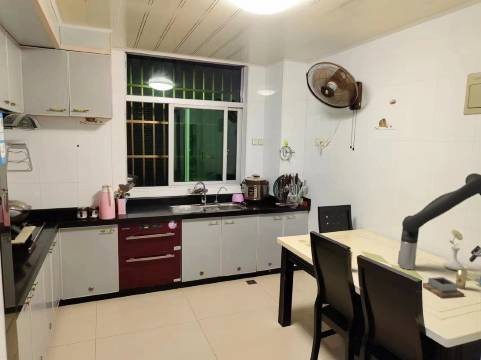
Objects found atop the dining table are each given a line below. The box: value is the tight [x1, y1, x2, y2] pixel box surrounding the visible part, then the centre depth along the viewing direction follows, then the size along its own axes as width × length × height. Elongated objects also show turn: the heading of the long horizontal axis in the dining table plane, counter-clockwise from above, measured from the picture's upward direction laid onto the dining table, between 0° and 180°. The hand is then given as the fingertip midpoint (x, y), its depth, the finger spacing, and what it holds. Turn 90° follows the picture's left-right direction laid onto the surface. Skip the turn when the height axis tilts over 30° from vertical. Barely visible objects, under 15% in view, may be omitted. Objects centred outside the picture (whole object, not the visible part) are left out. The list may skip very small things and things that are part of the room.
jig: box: [422, 276, 465, 299], centre depth 174 cm, size 14×14×6 cm
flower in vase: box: [442, 228, 465, 271], centre depth 206 cm, size 13×11×25 cm
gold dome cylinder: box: [455, 269, 468, 290], centre depth 178 cm, size 4×4×10 cm
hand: (477, 264), depth 179 cm, fingers open, 8 cm apart
